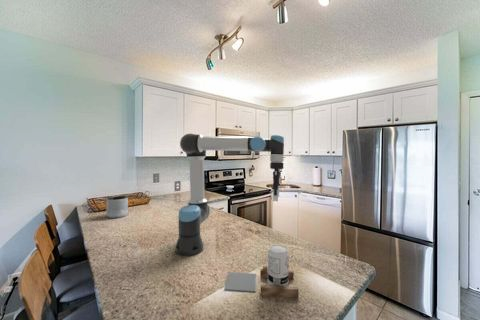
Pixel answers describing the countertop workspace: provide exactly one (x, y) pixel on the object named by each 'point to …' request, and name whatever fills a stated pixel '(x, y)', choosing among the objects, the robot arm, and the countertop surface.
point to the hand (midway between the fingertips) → (276, 198)
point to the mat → (240, 282)
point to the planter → (116, 206)
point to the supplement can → (278, 266)
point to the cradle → (278, 290)
